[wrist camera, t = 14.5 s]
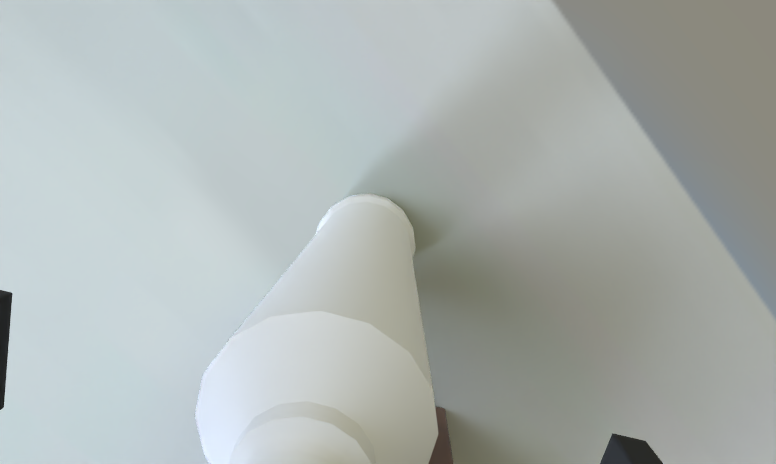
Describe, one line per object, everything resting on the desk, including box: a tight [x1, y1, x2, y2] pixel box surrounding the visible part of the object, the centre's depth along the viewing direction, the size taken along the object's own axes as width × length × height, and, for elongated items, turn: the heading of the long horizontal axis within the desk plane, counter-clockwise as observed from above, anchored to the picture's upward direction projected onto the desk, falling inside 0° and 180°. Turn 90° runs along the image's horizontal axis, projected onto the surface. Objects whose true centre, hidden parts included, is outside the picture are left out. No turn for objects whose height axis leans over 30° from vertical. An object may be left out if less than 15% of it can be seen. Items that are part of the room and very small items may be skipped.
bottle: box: [195, 193, 438, 464], centre depth 14 cm, size 5×5×25 cm
